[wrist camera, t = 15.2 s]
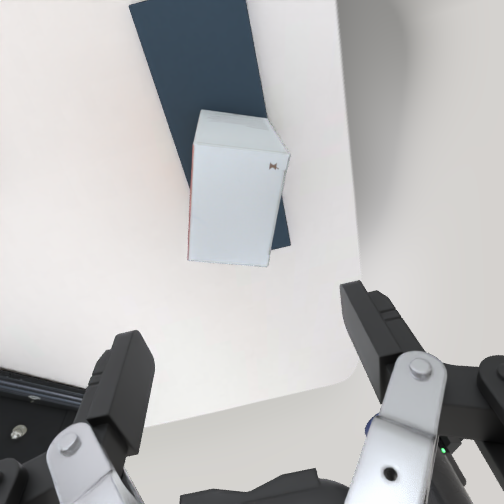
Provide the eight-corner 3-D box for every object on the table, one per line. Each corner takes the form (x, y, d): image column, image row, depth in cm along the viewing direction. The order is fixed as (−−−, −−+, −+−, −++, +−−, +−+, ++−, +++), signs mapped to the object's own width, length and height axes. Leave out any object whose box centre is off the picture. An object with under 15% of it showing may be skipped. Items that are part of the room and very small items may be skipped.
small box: (200, 107, 27) (191, 138, 18) (269, 117, 28) (293, 151, 19) (194, 200, 31) (184, 263, 22) (254, 206, 32) (268, 269, 23)
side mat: (289, 242, 35) (290, 245, 34) (214, 260, 35) (214, 263, 35) (240, -24, 23) (241, -25, 23) (129, 6, 24) (127, 5, 23)
